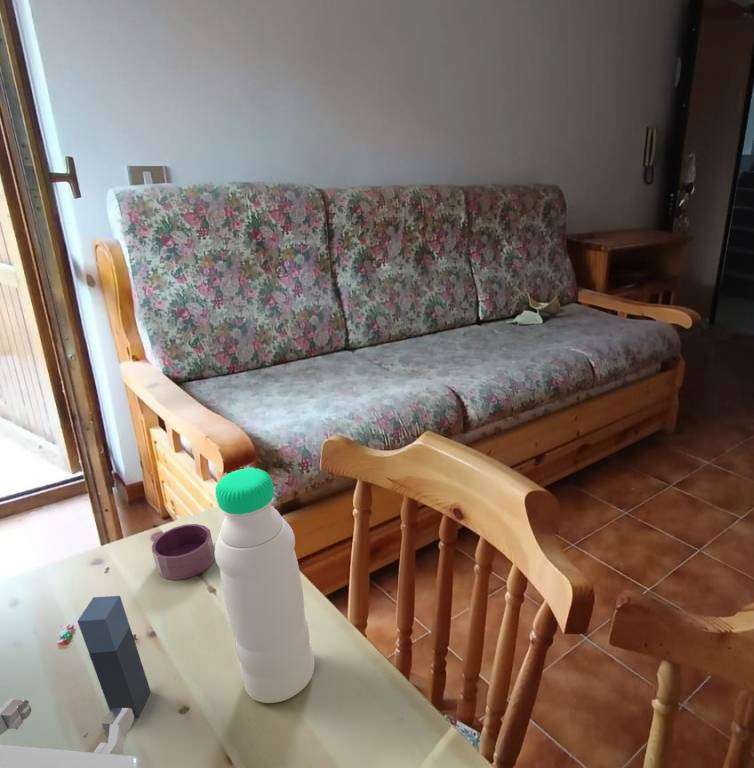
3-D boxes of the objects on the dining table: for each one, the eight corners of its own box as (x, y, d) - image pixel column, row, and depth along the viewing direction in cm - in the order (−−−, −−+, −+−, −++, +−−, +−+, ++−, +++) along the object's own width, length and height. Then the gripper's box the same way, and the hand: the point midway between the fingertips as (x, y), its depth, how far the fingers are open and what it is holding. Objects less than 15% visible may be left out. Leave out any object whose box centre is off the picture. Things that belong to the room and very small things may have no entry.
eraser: (112, 719, 62) (76, 621, 56) (126, 693, 64) (93, 596, 59) (138, 717, 62) (105, 619, 56) (150, 691, 65) (120, 595, 59)
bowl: (149, 581, 79) (142, 559, 77) (169, 546, 85) (164, 525, 83) (205, 578, 80) (200, 556, 78) (222, 543, 86) (217, 522, 84)
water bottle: (275, 719, 62) (233, 512, 52) (230, 685, 65) (182, 484, 55) (329, 669, 68) (301, 472, 57) (284, 640, 71) (250, 450, 60)
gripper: (64, 876, 41) (180, 692, 53) (-230, 847, 42) (-48, 673, 54) (89, 928, 43) (195, 741, 56) (-188, 900, 45) (-24, 723, 57)
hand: (73, 707), depth 55 cm, fingers open, 8 cm apart
